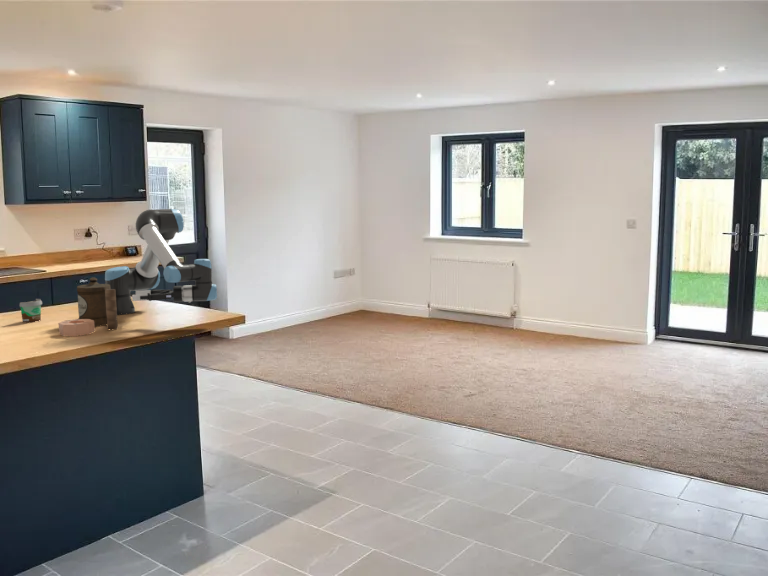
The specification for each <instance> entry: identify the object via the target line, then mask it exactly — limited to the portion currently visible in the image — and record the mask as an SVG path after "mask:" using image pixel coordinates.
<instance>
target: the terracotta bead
mask: <svg viewBox="0 0 768 576" xmlns="http://www.w3.org/2000/svg"><path fill="white" fill-rule="evenodd" d="M95 327H96V326H95V325H94V320H91V319H79V318H75V319H67V320H63V321H61V322H58V334H59V335H60V334H61V335H60V336H63V337H78V336H77V335H80V336H85V335H84V334H87V335H90V333H91V334H93V333H95V332H96V328H95ZM94 331H95V332H94ZM92 332H93V333H92Z"/></svg>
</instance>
